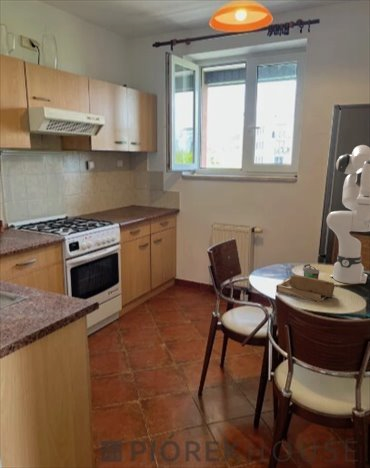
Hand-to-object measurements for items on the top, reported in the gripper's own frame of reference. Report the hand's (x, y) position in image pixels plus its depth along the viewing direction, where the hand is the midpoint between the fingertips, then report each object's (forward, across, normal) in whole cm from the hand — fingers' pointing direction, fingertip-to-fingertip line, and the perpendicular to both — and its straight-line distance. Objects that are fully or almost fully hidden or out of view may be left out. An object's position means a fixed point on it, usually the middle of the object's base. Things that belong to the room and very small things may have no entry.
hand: (366, 227), depth 160 cm
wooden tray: (+37, +6, -24) cm, 44 cm away
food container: (+37, -8, -28) cm, 47 cm away
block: (+32, +5, -10) cm, 34 cm away
